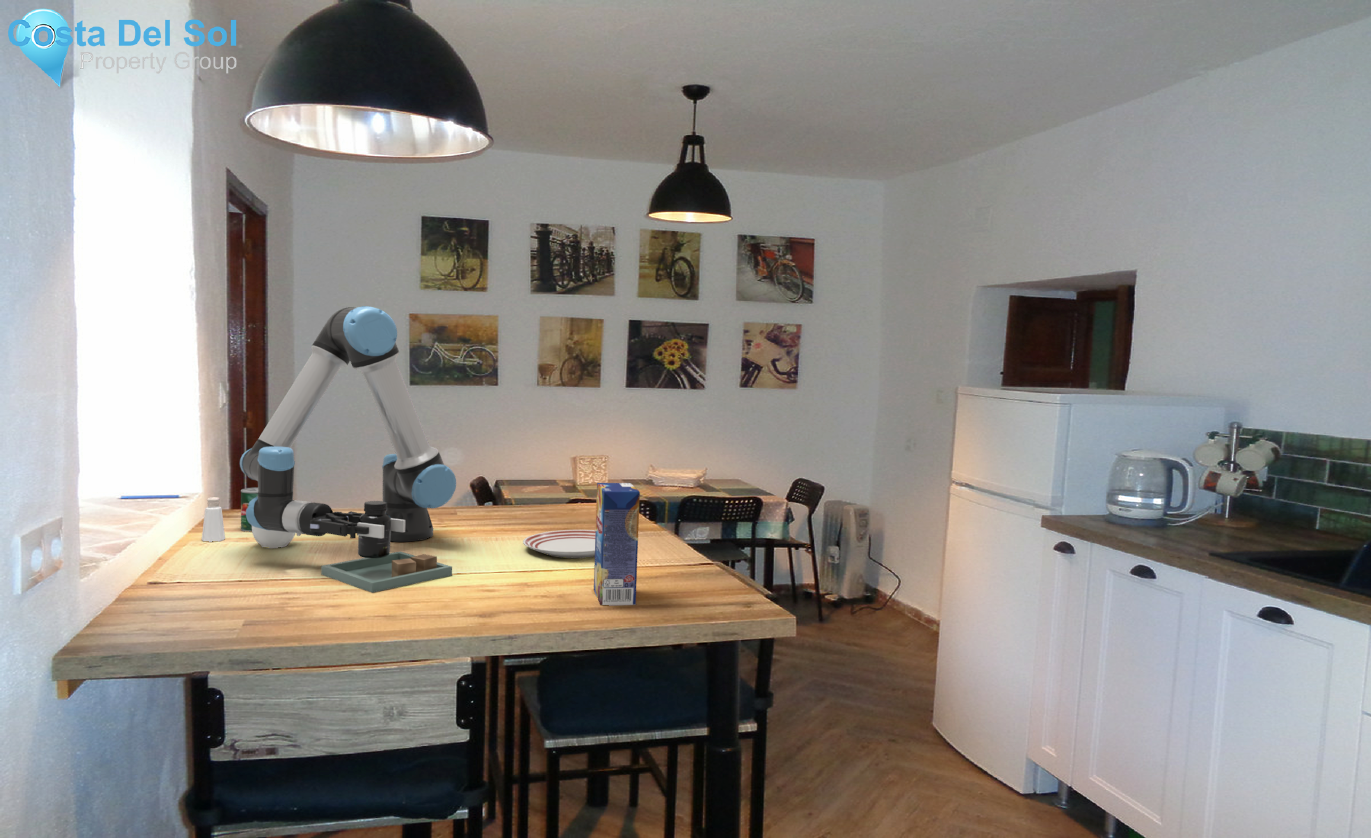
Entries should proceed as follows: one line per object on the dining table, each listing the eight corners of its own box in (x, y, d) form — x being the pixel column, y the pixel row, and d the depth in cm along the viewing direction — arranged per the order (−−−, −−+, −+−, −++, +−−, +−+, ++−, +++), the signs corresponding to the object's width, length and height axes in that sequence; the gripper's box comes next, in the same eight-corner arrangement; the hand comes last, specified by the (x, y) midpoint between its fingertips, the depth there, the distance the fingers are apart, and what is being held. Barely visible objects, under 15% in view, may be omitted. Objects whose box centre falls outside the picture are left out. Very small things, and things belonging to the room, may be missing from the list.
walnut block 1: (409, 576, 192) (409, 558, 191) (415, 580, 188) (416, 562, 188) (391, 578, 189) (391, 560, 189) (397, 582, 186) (397, 564, 186)
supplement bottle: (350, 556, 190) (352, 502, 190) (372, 550, 197) (374, 498, 196) (375, 560, 188) (376, 506, 187) (396, 554, 194) (398, 502, 193)
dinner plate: (506, 558, 216) (506, 545, 216) (543, 536, 243) (543, 525, 243) (611, 567, 211) (612, 554, 211) (637, 544, 238) (638, 532, 238)
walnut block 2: (423, 571, 196) (423, 553, 196) (436, 573, 194) (436, 556, 194) (410, 574, 193) (410, 557, 192) (423, 577, 191) (423, 559, 191)
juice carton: (635, 604, 180) (639, 491, 178) (600, 605, 178) (604, 491, 176) (626, 589, 192) (630, 482, 190) (593, 589, 190) (597, 482, 188)
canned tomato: (278, 528, 239) (279, 489, 238) (254, 533, 232) (254, 493, 231) (258, 525, 242) (258, 486, 242) (234, 529, 235) (234, 490, 234)
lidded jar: (305, 542, 224) (306, 507, 223) (282, 551, 213) (282, 514, 212) (267, 540, 225) (267, 504, 224) (241, 549, 214) (241, 512, 214)
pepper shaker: (196, 540, 221) (196, 498, 220) (216, 536, 226) (216, 495, 225) (210, 543, 219) (210, 500, 218) (230, 539, 224) (229, 497, 223)
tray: (400, 563, 206) (400, 551, 206) (451, 579, 194) (452, 566, 193) (321, 578, 190) (321, 565, 190) (372, 597, 178) (372, 583, 178)
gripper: (338, 527, 207) (420, 537, 200) (276, 542, 188) (364, 554, 181) (339, 496, 206) (420, 505, 199) (277, 508, 188) (364, 519, 181)
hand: (393, 529), depth 190 cm, fingers closed on supplement bottle, 7 cm apart
